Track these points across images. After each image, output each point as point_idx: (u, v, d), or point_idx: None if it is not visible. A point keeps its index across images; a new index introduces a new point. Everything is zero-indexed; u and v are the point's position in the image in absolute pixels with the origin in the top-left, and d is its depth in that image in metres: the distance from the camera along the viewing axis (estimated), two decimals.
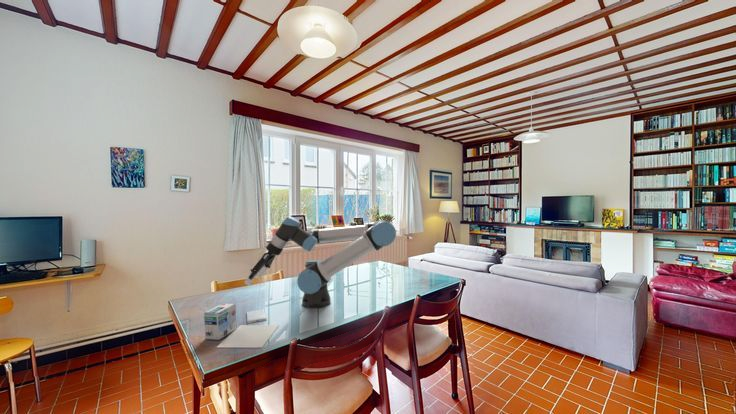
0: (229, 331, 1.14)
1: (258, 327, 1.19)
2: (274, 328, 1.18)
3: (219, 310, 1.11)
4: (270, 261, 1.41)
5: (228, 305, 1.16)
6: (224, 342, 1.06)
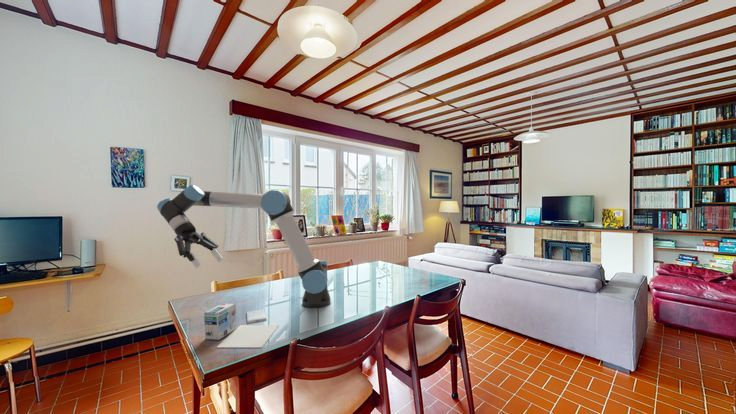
0: (229, 331, 1.14)
1: (258, 327, 1.19)
2: (274, 328, 1.18)
3: (219, 310, 1.11)
4: (204, 241, 1.28)
5: (228, 305, 1.16)
6: (224, 342, 1.06)
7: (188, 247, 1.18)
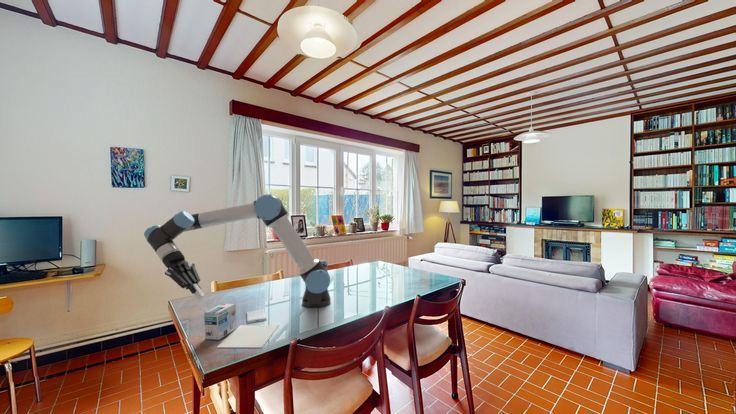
0: (229, 331, 1.14)
1: (258, 327, 1.19)
2: (274, 328, 1.18)
3: (219, 310, 1.11)
4: (188, 272, 1.19)
5: (228, 305, 1.16)
6: (224, 342, 1.06)
7: (187, 279, 1.16)
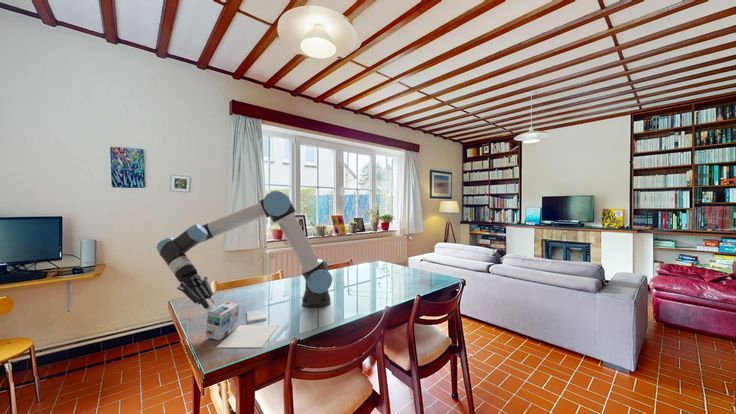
0: (229, 331, 1.14)
1: (258, 327, 1.19)
2: (274, 328, 1.18)
3: (223, 311, 1.10)
4: (201, 286, 1.17)
5: (232, 305, 1.16)
6: (224, 342, 1.06)
7: (199, 294, 1.14)
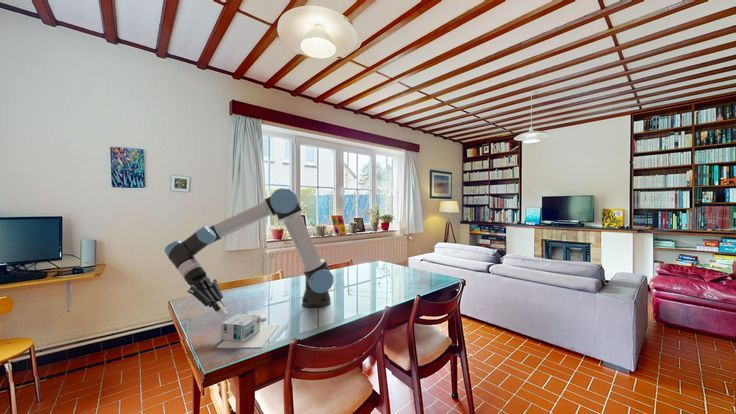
0: None
1: None
2: (274, 328, 1.18)
3: (248, 336, 1.08)
4: (211, 289, 1.16)
5: (257, 329, 1.14)
6: (224, 342, 1.06)
7: (210, 296, 1.13)
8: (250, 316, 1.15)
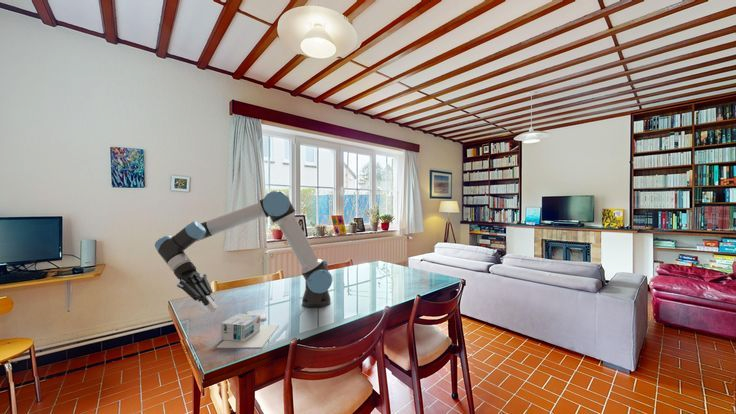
0: None
1: None
2: (274, 328, 1.18)
3: (248, 336, 1.08)
4: (200, 283, 1.17)
5: (257, 329, 1.14)
6: (224, 342, 1.06)
7: (199, 291, 1.14)
8: (250, 316, 1.15)
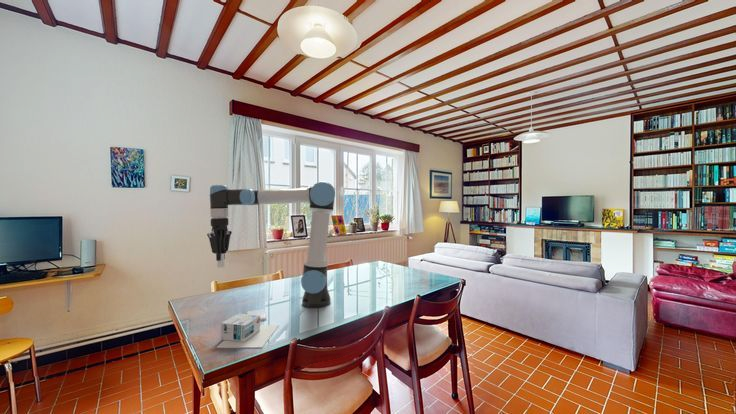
0: None
1: None
2: (274, 328, 1.18)
3: (248, 336, 1.08)
4: (223, 240, 1.33)
5: (257, 329, 1.14)
6: (224, 342, 1.06)
7: (219, 247, 1.31)
8: (250, 316, 1.15)
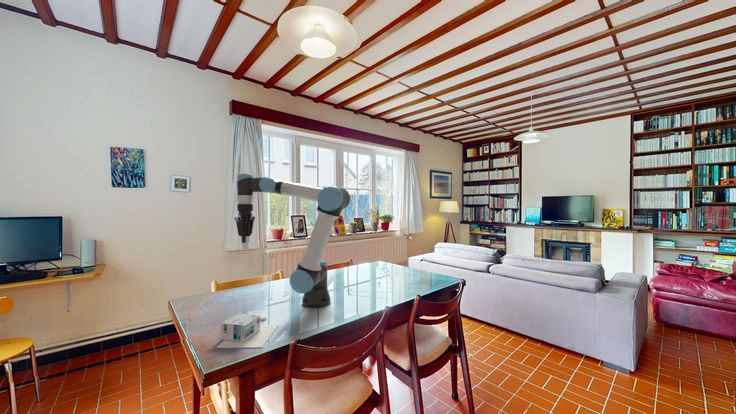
0: None
1: None
2: (274, 328, 1.18)
3: (248, 336, 1.08)
4: (248, 224, 1.45)
5: (257, 329, 1.14)
6: (224, 342, 1.06)
7: (245, 230, 1.43)
8: (250, 316, 1.15)
